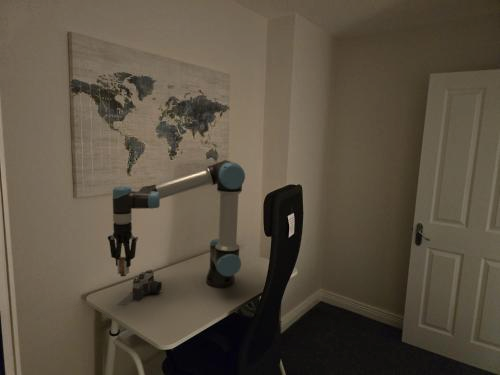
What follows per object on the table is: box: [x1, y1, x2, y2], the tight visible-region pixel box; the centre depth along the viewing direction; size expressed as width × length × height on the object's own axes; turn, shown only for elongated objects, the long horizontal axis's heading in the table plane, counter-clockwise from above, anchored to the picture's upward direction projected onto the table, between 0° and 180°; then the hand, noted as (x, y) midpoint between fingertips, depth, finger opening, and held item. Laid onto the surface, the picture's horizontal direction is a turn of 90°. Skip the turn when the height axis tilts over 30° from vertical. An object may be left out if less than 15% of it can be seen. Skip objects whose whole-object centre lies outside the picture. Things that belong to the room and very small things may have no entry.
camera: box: [132, 269, 163, 302], centre depth 158 cm, size 16×10×10 cm, turn 169°
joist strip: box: [117, 290, 133, 306], centre depth 156 cm, size 4×17×1 cm, turn 171°
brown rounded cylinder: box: [119, 256, 127, 277], centre depth 147 cm, size 3×3×8 cm
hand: (123, 273), depth 147 cm, fingers closed on brown rounded cylinder, 2 cm apart
